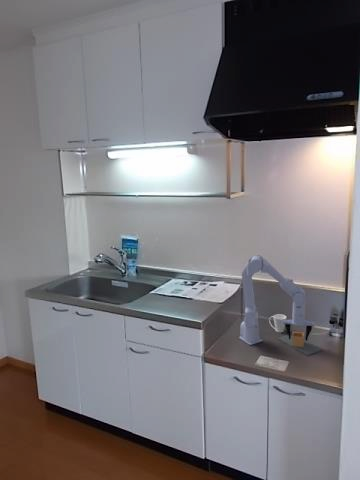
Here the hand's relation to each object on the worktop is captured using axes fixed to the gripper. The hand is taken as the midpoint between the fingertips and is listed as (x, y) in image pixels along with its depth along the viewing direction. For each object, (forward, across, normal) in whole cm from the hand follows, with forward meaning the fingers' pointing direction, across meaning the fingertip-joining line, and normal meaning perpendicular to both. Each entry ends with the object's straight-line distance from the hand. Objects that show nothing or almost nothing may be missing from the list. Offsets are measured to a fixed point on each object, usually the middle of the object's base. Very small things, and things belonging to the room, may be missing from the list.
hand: (298, 339), depth 185 cm
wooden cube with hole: (+2, 0, 0) cm, 3 cm away
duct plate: (+3, -1, -1) cm, 3 cm away
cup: (+3, +11, -15) cm, 19 cm away
